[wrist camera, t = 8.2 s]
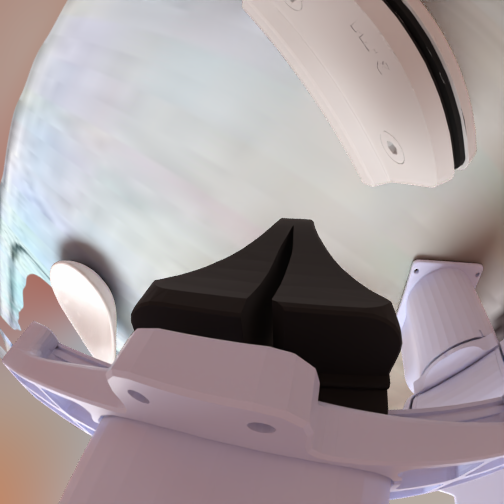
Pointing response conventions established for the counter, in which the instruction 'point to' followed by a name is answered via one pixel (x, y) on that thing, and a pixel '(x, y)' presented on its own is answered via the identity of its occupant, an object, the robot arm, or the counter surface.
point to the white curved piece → (378, 83)
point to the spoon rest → (87, 306)
